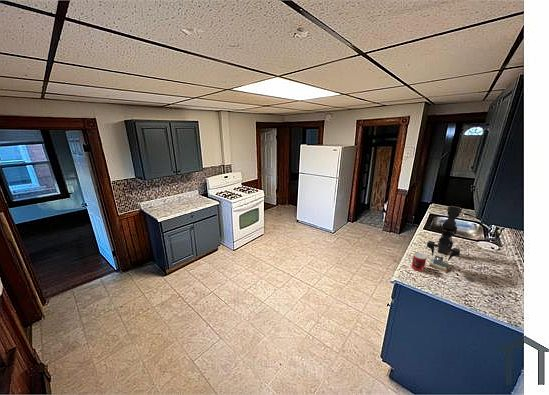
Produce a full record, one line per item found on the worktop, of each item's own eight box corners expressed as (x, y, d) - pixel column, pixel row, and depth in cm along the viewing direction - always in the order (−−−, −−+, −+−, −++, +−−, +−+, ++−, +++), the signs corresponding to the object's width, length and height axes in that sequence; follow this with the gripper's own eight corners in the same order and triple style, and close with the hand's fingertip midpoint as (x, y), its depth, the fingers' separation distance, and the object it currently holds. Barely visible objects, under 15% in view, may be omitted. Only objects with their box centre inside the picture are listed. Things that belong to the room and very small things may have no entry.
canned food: (421, 265, 162) (424, 252, 158) (425, 272, 155) (428, 259, 151) (409, 264, 164) (412, 251, 160) (413, 270, 157) (416, 257, 153)
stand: (431, 260, 168) (432, 257, 167) (447, 265, 162) (448, 262, 161) (429, 266, 161) (429, 263, 160) (445, 272, 155) (446, 269, 154)
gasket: (465, 277, 150) (466, 276, 150) (474, 280, 147) (474, 279, 147) (465, 280, 147) (465, 279, 147) (474, 283, 144) (474, 282, 144)
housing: (434, 259, 165) (435, 254, 163) (442, 261, 162) (443, 256, 160) (432, 263, 160) (434, 258, 158) (441, 266, 157) (442, 261, 155)
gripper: (427, 239, 154) (423, 257, 159) (461, 248, 142) (455, 268, 147) (430, 233, 162) (425, 251, 167) (463, 242, 150) (456, 261, 155)
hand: (440, 258), depth 159 cm, fingers open, 9 cm apart
